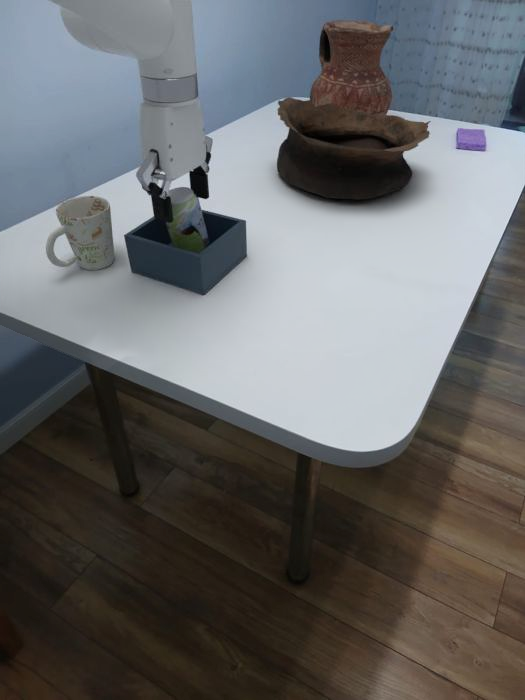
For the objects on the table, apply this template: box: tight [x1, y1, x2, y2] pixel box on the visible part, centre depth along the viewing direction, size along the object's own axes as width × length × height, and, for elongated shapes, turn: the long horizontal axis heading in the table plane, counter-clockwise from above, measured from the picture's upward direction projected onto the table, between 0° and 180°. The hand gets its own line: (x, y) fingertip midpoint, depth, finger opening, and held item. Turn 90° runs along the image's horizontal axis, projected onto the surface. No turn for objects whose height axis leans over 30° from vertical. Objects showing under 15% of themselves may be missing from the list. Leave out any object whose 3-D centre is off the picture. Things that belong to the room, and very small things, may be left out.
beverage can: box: [166, 186, 210, 254], centre depth 80 cm, size 6×7×12 cm
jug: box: [309, 19, 394, 116], centre depth 132 cm, size 22×21×25 cm
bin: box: [123, 209, 248, 296], centre depth 82 cm, size 15×14×7 cm
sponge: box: [456, 127, 488, 152], centre depth 130 cm, size 7×13×2 cm, turn 164°
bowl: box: [276, 96, 432, 200], centre depth 108 cm, size 34×33×15 cm
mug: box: [45, 195, 115, 271], centre depth 81 cm, size 8×13×10 cm, turn 148°
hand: (182, 208), depth 78 cm, fingers open, 9 cm apart
